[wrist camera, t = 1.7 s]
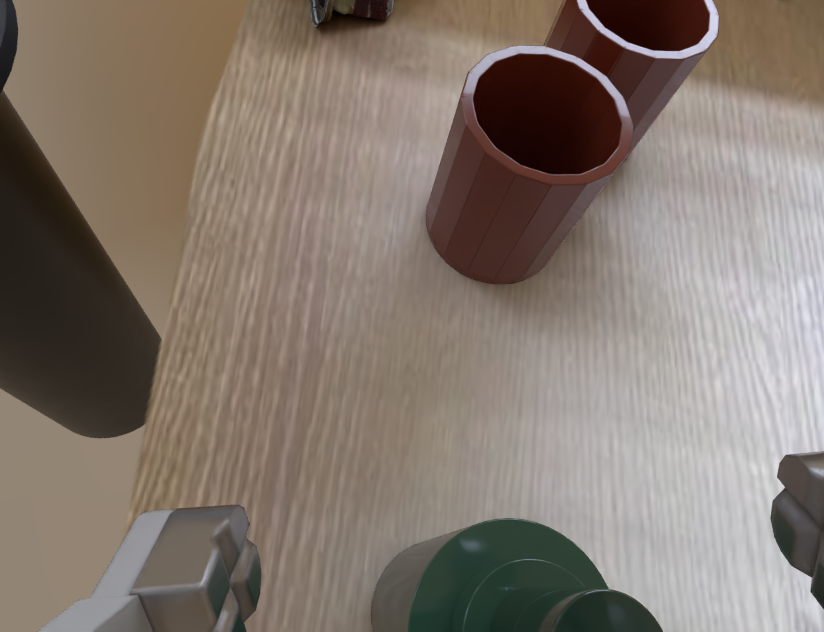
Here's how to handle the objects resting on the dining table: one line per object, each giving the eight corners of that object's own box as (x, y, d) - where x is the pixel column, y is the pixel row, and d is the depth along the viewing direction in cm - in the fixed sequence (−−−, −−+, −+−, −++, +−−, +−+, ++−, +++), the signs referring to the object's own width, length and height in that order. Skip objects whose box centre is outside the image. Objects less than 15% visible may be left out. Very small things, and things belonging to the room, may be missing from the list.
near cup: (410, 259, 35) (443, 150, 26) (443, 153, 39) (482, 25, 30) (544, 301, 36) (622, 207, 27) (565, 192, 39) (640, 76, 30)
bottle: (353, 670, 27) (415, 816, 10) (392, 524, 29) (490, 456, 13) (489, 709, 27) (764, 916, 10) (515, 560, 29) (766, 540, 13)
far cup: (506, 153, 40) (562, 28, 31) (528, 66, 43) (584, -69, 34) (625, 191, 40) (716, 78, 31) (637, 102, 44) (721, -23, 34)
